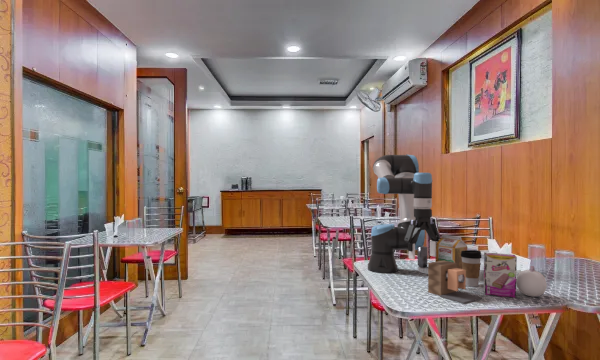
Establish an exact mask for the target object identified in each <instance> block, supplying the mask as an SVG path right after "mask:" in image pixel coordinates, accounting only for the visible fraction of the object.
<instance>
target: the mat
mask: <svg viewBox="0 0 600 360" xmlns="http://www.w3.org/2000/svg"><path fill="white" fill-rule="evenodd" d="M439 297H440V298H443V299H446V300H450V301H453V302H456V303H459V304H462V305H465V304H468V303H473V302H477V301H480V300H483V297H482V296H478V295H476V294H472V293H468V292H464V291H462V290H458V291H457V292H453V293H448V294H444V295H440V296H439Z"/></svg>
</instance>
